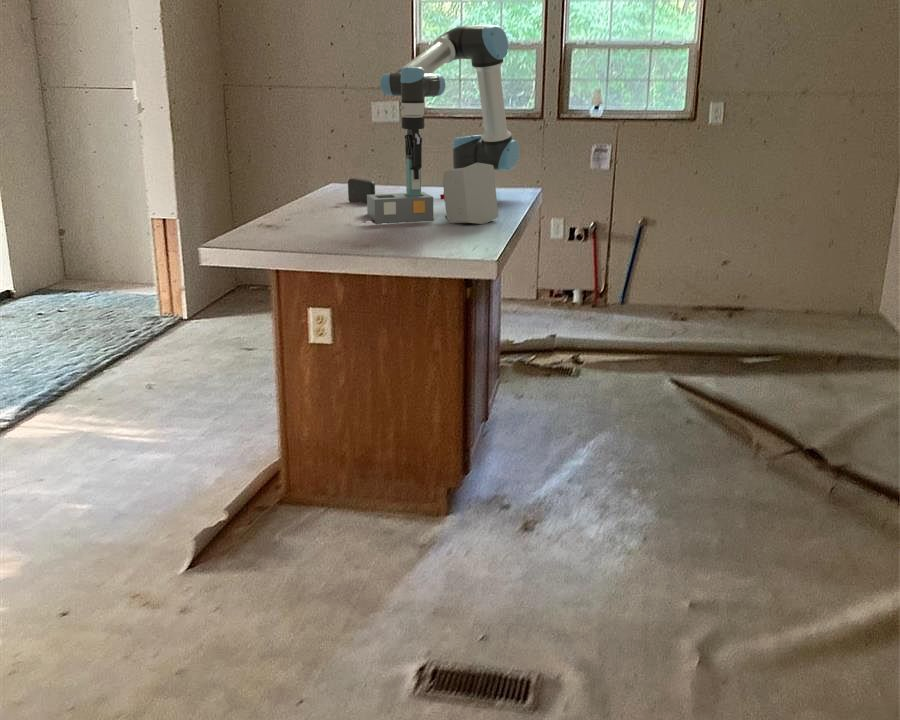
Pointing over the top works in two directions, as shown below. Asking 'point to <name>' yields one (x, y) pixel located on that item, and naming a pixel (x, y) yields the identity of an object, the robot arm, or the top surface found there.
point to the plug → (409, 189)
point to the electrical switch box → (470, 194)
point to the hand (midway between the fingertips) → (413, 188)
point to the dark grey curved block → (360, 189)
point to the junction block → (399, 208)
